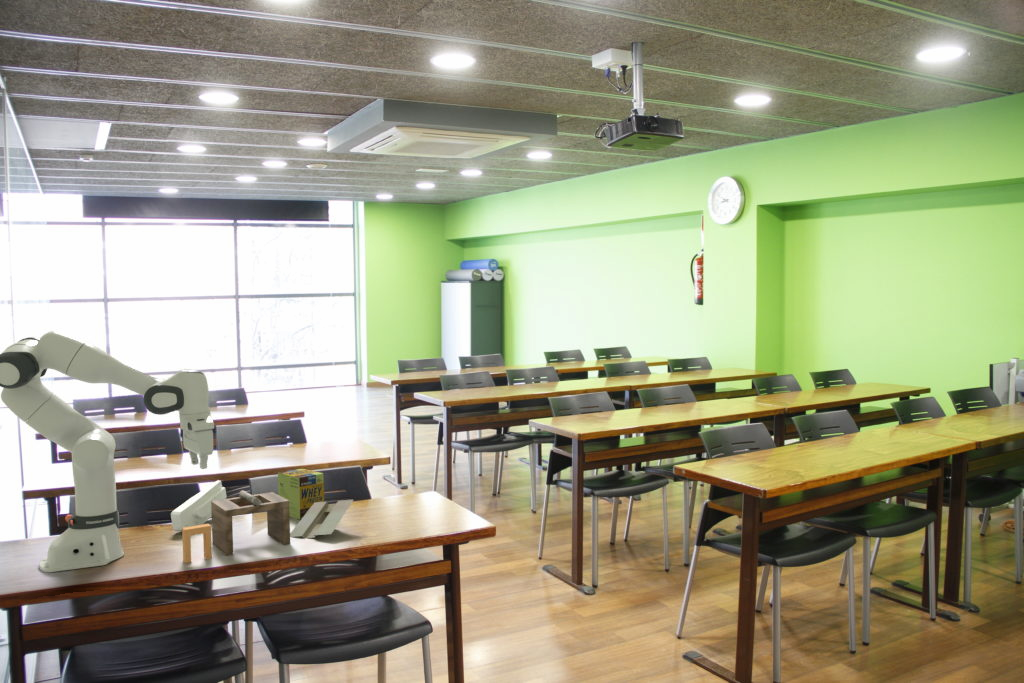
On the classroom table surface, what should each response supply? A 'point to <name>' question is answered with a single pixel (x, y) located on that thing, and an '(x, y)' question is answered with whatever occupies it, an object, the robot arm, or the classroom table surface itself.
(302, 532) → the slanted grey stand
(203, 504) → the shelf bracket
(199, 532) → the orange u-frame
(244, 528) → the classroom table surface
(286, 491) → the protein box
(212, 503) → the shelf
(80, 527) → the robot arm
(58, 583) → the classroom table surface
